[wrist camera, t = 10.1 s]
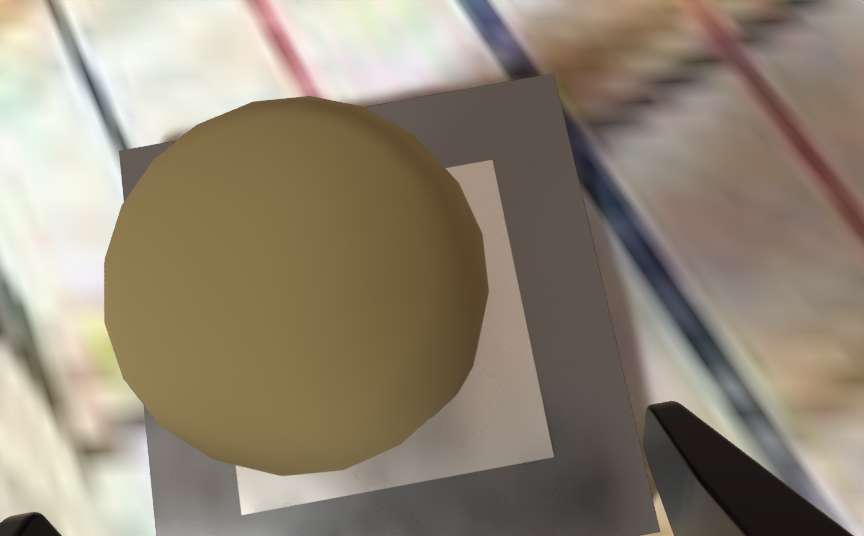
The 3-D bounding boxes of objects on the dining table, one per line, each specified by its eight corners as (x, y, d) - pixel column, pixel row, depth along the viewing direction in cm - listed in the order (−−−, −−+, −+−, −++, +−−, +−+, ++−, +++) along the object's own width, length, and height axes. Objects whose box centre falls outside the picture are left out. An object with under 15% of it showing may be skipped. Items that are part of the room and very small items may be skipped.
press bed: (642, 518, 18) (661, 532, 17) (187, 603, 18) (163, 626, 16) (545, 94, 20) (554, 71, 19) (142, 166, 20) (117, 149, 19)
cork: (265, 426, 17) (-40, 521, 6) (286, 223, 18) (55, 8, 7) (474, 440, 17) (527, 563, 6) (484, 234, 18) (544, 30, 7)
